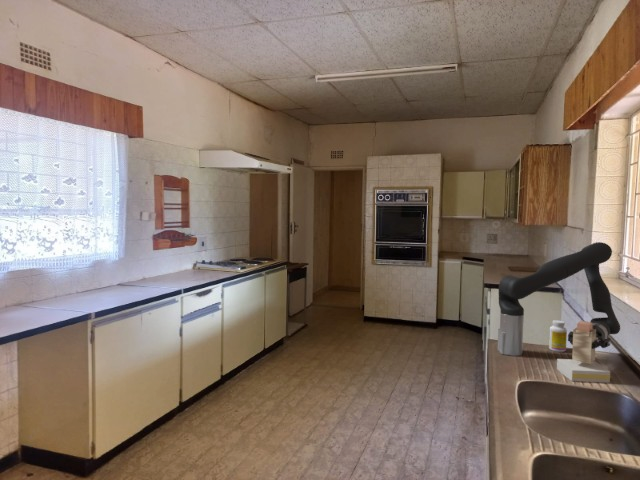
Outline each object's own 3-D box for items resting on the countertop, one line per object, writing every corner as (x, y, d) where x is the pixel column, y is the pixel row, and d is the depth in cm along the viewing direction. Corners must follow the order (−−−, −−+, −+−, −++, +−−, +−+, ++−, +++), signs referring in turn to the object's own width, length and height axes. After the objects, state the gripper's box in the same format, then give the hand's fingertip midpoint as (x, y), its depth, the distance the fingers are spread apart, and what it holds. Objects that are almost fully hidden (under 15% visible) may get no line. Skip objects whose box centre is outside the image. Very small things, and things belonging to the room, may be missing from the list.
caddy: (572, 359, 161) (573, 329, 160) (576, 355, 166) (578, 326, 165) (590, 363, 157) (591, 332, 156) (594, 359, 161) (596, 329, 160)
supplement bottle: (569, 352, 188) (570, 323, 187) (553, 352, 188) (554, 323, 187) (560, 347, 194) (562, 319, 193) (545, 347, 194) (547, 319, 194)
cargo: (576, 333, 161) (577, 322, 160) (580, 331, 163) (580, 320, 163) (589, 335, 158) (589, 325, 157) (592, 333, 160) (592, 322, 160)
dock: (571, 381, 156) (572, 370, 156) (556, 368, 168) (557, 358, 168) (609, 382, 155) (610, 372, 155) (591, 370, 167) (592, 360, 167)
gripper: (574, 321, 176) (561, 330, 164) (616, 328, 165) (605, 338, 154) (573, 339, 176) (560, 349, 164) (615, 347, 166) (604, 358, 154)
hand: (582, 344), depth 159 cm, fingers closed on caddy, 6 cm apart
